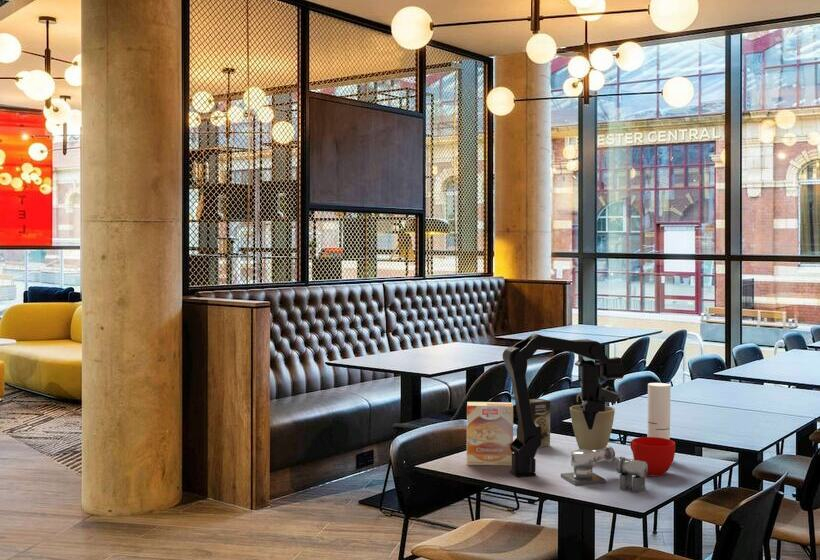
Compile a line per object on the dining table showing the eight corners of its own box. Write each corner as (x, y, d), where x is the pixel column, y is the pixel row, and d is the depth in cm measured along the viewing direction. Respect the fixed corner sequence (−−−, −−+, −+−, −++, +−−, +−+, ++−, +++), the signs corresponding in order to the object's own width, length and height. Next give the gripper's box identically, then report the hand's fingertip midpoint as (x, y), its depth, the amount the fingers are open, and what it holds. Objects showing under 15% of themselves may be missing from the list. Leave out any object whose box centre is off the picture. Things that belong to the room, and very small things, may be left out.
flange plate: (575, 485, 260) (575, 471, 260) (560, 476, 269) (560, 463, 269) (605, 482, 262) (606, 469, 262) (590, 474, 272) (590, 461, 272)
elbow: (583, 470, 261) (583, 455, 260) (565, 465, 267) (566, 450, 266) (618, 462, 269) (618, 448, 269) (600, 458, 275) (600, 444, 275)
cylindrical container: (652, 456, 295) (653, 382, 294) (673, 459, 291) (673, 384, 290) (643, 460, 290) (644, 384, 289) (664, 463, 285) (665, 386, 284)
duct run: (616, 488, 256) (616, 458, 256) (623, 485, 260) (624, 455, 260) (640, 493, 251) (640, 462, 251) (647, 489, 255) (648, 459, 255)
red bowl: (647, 463, 285) (647, 433, 285) (684, 476, 270) (684, 443, 270) (615, 468, 280) (615, 436, 279) (650, 480, 265) (651, 447, 264)
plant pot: (612, 450, 304) (613, 404, 303) (616, 461, 289) (616, 412, 288) (568, 449, 306) (569, 403, 305) (570, 459, 291) (570, 411, 290)
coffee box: (530, 448, 306) (530, 402, 306) (519, 445, 312) (519, 399, 311) (550, 445, 311) (551, 400, 310) (539, 442, 316) (540, 397, 316)
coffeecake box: (466, 465, 284) (466, 405, 283) (466, 459, 291) (466, 401, 290) (513, 465, 283) (513, 405, 282) (512, 460, 290) (512, 401, 289)
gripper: (622, 384, 267) (621, 436, 267) (611, 375, 285) (610, 423, 286) (585, 384, 267) (584, 435, 268) (576, 375, 286) (576, 423, 287)
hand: (590, 429), depth 277 cm, fingers closed
